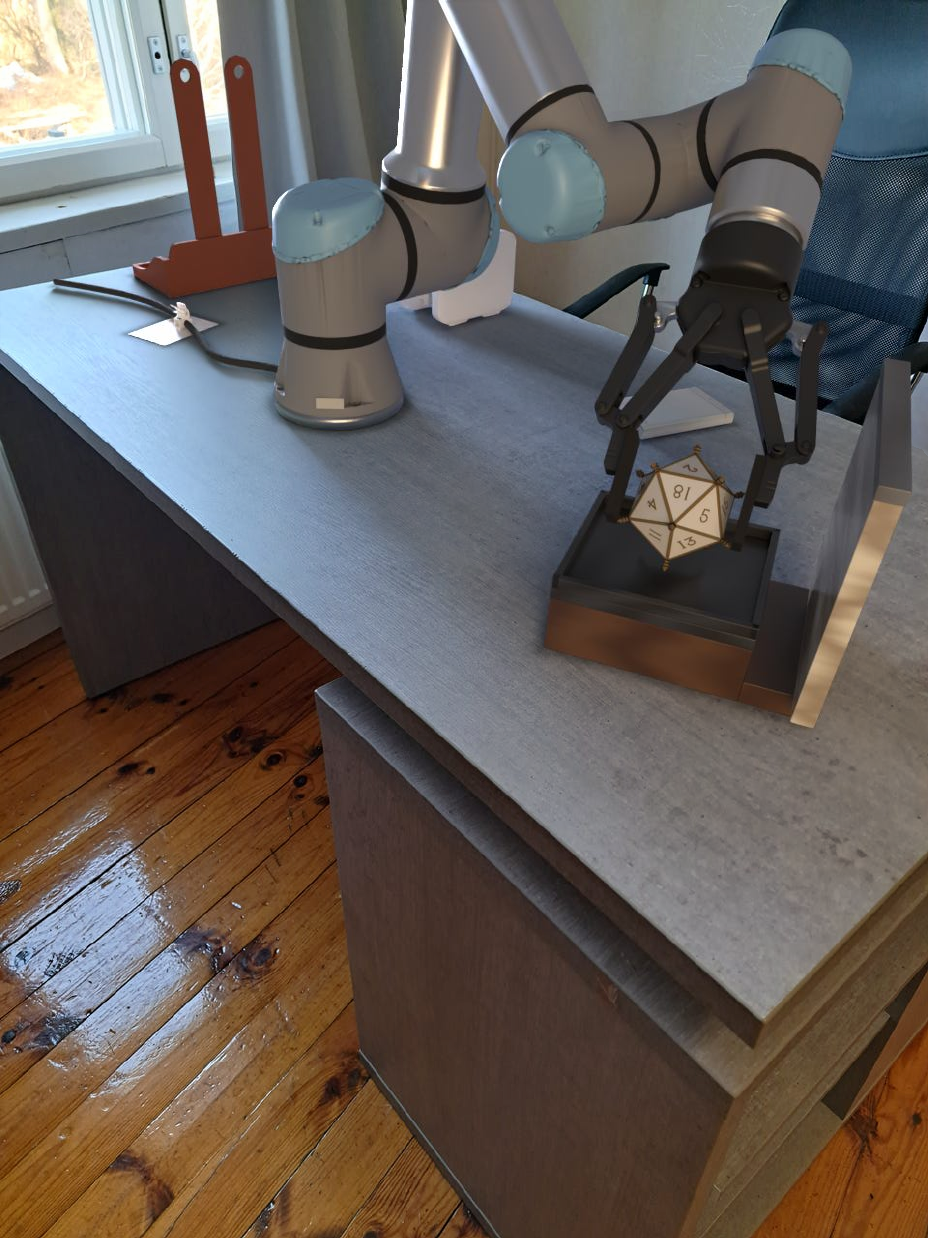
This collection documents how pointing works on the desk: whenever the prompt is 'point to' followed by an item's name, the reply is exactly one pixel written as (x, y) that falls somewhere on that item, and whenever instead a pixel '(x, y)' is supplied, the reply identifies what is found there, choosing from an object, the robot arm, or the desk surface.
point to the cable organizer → (475, 289)
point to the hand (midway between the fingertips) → (672, 532)
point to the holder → (740, 585)
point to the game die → (682, 507)
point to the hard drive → (683, 413)
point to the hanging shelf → (211, 252)
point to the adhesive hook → (173, 327)
